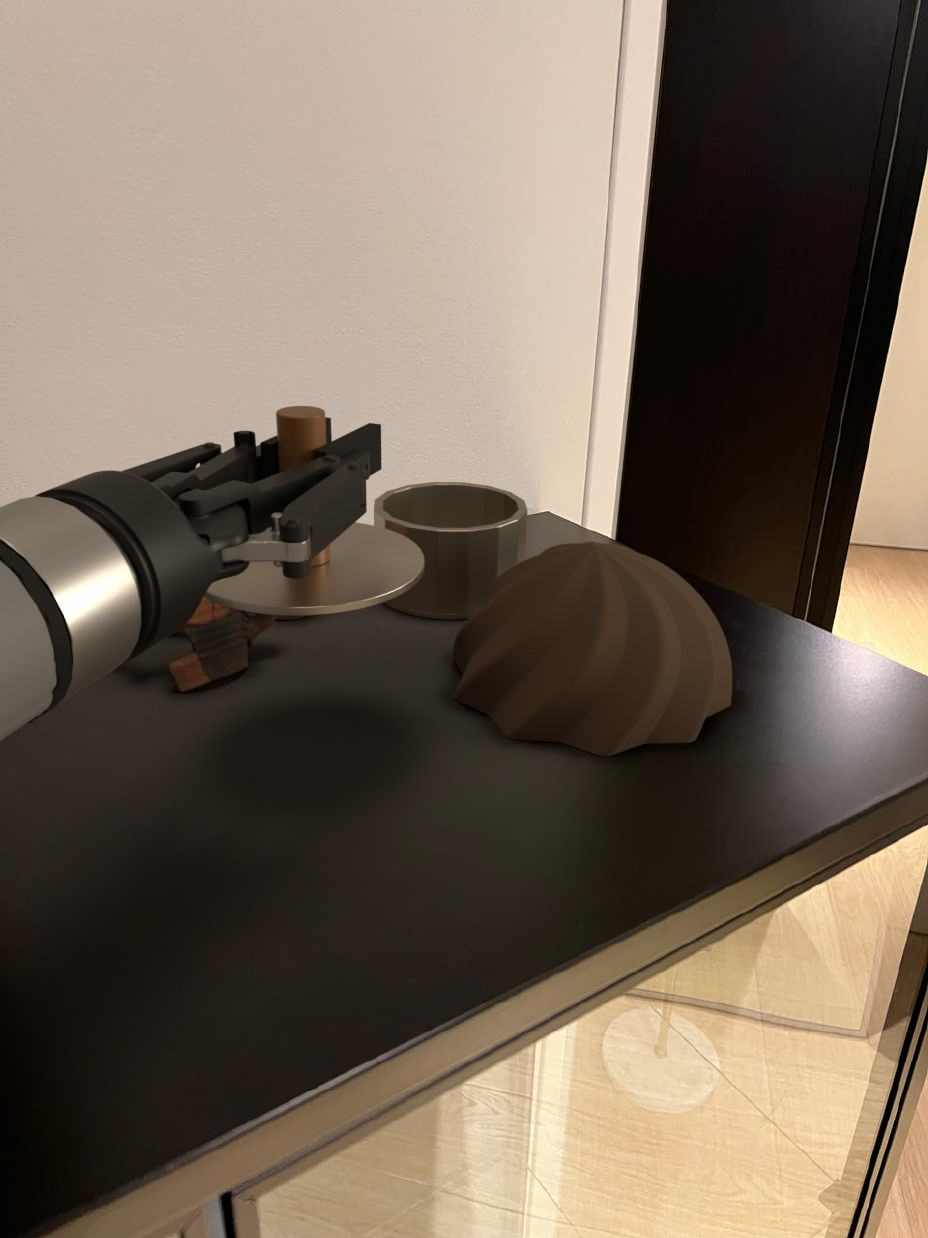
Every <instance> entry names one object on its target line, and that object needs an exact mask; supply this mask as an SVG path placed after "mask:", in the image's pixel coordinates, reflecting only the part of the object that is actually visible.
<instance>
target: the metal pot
mask: <svg viewBox="0 0 928 1238" xmlns="http://www.w3.org/2000/svg"><path fill="white" fill-rule="evenodd" d="M373 503H374V504H373V526H377V527H381V528H384V529H387V530H391V531H393V532H396V533H398V534H401V535H403V536H404V537H406V538H408V539H410V540H411V541H412V542H414V543H415V544H416V545H417V546H418V547H419V548H420V549H421V551H422V553H423V555H424V559H425V567H424V573H423V575H422V577H421V579H420V580H419V581H418V582H417V584H416V585H414V586H413V587H412V588H411V589H410V590H408V591H406V592H405V593H403V594H401V595H400V596H398V597H395V598H393V599H391V600H389V601H386V602H383V603H384V604H385V605H387V606H388V607H390V608H392V609H393V610H395V611H398V612H401V613H403V614H407V615H409V616H414V617H415V616H416V617H419V618H426V619H434V620H468V619H469V618H471V617H472V616H473V615H474V614H475V613H476V612H477V611H479V610H480V609H481V608H482V607H483V601H484V595H485V592H486V590H487V588H488V587H489V585H490V584H491V583H492V582H493V581H494V580H495V579H496V578H497V577H498V576H500V575H501V574H502V573H504V572H505V571H507V570H508V569H510V568H511V567H513V566H515V565H517V564H518V563H520V562H522V561H524V560H526V548H527V547H526V545H527V530H528V529H527V526H528V507H527V505H526V501H525V500H524V499H523V498H522V497H520V496H518V495H516V494H514V493H513V492H512V491H508V490H505V489H501V488H498V487H495V486H492V485H488V484H487V485H486V484H479V483H471V482H463V481H431V482H429V481H428V482H422V483H421V482H420V483H412V484H406V485H403V486H400V487H397V488H393V489H390V490H387V491H385V492H384V493H382V494H381V495H379V496H378V497H376V498H375V499H374V502H373Z"/></svg>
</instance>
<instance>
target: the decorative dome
mask: <svg viewBox="0 0 928 1238" xmlns="http://www.w3.org/2000/svg"><path fill="white" fill-rule="evenodd" d="M453 661H454V662H455V664H456V666H457V668H458V670H459V671H460V673H461V675H462V677H461V679H460V681H459V683H458V685H457V687H456V689H455V692H454V693H453V696H452V697H453V699H454V700H455V701H456V702H458V703H460V704H462V705H465V706H468V707H469V708H472V709H474V710H476V711H479V712H481V713H483V714H486V715H488V716H489V717H490V719H491V720H492V721H493V722H494V724H495V725H496V726H497V727H498V729H499V730H500V731H501V732H502V733H503V735H504V736H505V737H506V738H508V739H511V740H515V741H535V742H536V741H538V742H557V743H561V744H564V745H568V746H570V747H573V748H575V749H576V748H577V749H579V750H581V751H584V752H587V753H591V754H593V755H595V756H596V755H597V756H601V757H610V756H613V755H617V754H619V753H622V752H626V751H627V750H631V749H633V748H636V747H639V746H641V745H644V744H690V743H693V742H695V741H696V740H697V738H698V736H699V734H700V731H701V730H702V727H703V725H704V722H705V720H706V718H708V717H710V716H712V715H715V714H716V713H719V712H721V711H723V710H725V709H727V708H729V707H730V706H731V705H732V697H733V696H732V695H733V668H732V660H731V653H730V649H729V646H728V642H727V638H726V636H725V633H724V631H723V629H722V626H721V624H720V622H719V620H718V619H717V617H716V615H715V614H714V612H713V610H712V609H711V608H710V606H709V605H708V603H707V602H706V601H705V599H704V598H703V597H702V596H701V595H700V593H698V591H697V590H696V589H695V588H694V587H693V586H692V585H691V584H690V583H689V582H688V581H686V580H685V579H684V578H683V577H682V576H681V575H679V574H678V573H677V572H676V571H675V570H673V569H671V568H670V567H668V566H667V565H666V564H664V563H662V562H661V561H659V560H657V559H655V558H653V557H651V556H648V555H645V554H642V553H639V552H636V551H635V550H634V549H632V548H629V547H627V546H624V545H621V544H616V543H602V542H597V541H592V540H591V541H590V540H589V541H585V542H580V543H579V542H578V543H576V542H575V543H573V542H571V543H569V542H568V543H561V544H555V545H552V546H550V547H548V548H546V549H544V550H543V551H541V553H539V554H537V555H534V556H532V557H530V558H527V559H525V560H524V561H522V562H520V563H518V564H517V565H515V566H513V567H511V568H510V569H508V570H507V571H505V572H504V573H502V574H501V575H500V576H498V577H497V578H496V579H495V580H494V581H493V582H492V583H491V584H490V585H489V587H488V588H487V590H486V592H485V595H484V601H483V607H482V608H481V609H480V610H479V611H477V612H476V613H475V614H474V615H473V616H472V617H471V618H469V619H466V621H465V622H464V623H463V624H462V626H461V627H460V628H459V630H458V632H457V633H456V635H455V638H454V642H453Z"/></svg>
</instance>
